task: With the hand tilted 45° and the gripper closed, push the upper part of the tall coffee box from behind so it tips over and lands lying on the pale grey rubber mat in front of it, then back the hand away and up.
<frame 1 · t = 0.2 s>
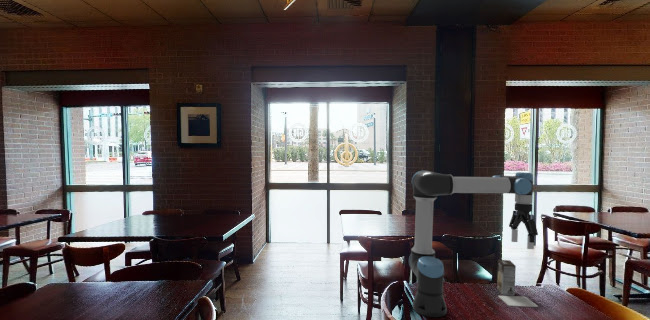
hand: (522, 245, 164), 28 cm above the table, tool pointing down, fingers open, 13 cm apart
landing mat: (517, 301, 164), on the table
coffee box: (505, 292, 175), on the table
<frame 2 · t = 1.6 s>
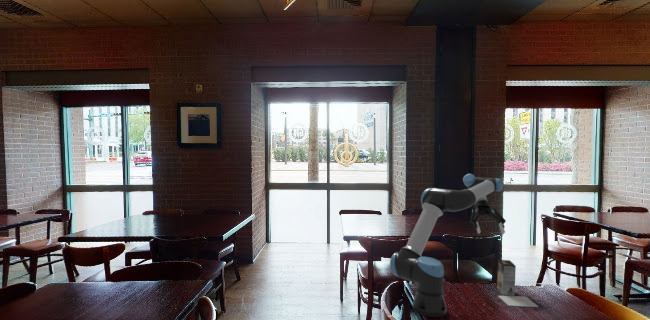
hand: (491, 232, 190), 28 cm above the table, tool tilted 45°, fingers open, 13 cm apart
nothing on the table moved.
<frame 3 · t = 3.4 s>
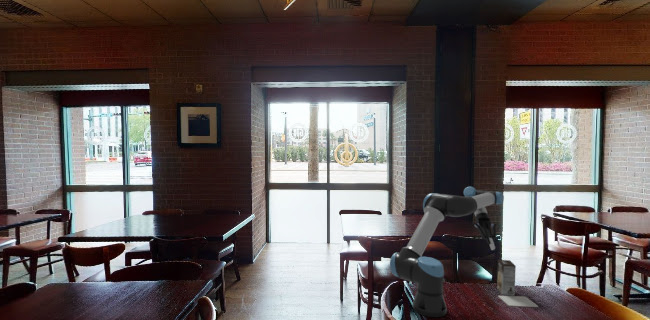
hand: (493, 248, 191), 19 cm above the table, tool tilted 45°, fingers closed
nothing on the table moved.
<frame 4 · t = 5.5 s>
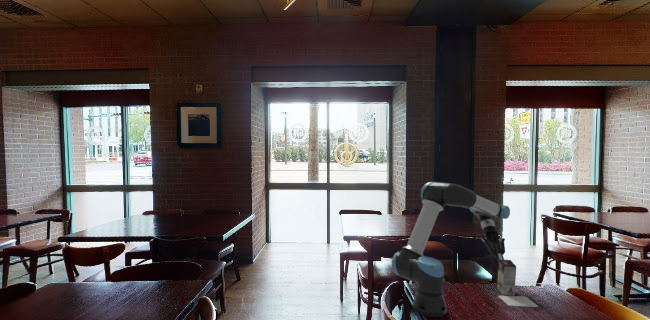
hand: (502, 265, 180), 13 cm above the table, tool tilted 45°, fingers closed
coffee box: (505, 291, 175), on the table, touching gripper
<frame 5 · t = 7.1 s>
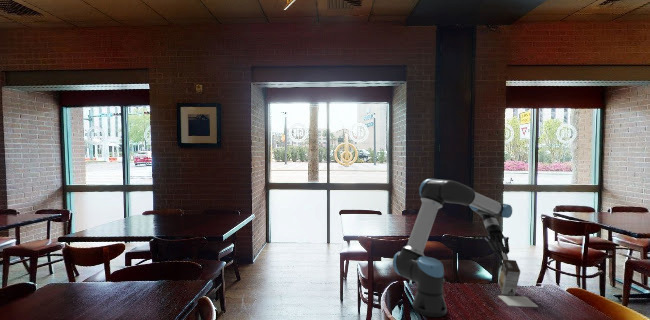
hand: (506, 265, 175), 14 cm above the table, tool tilted 45°, fingers closed
coffee box: (506, 289, 175), point 1 cm above the table, touching gripper
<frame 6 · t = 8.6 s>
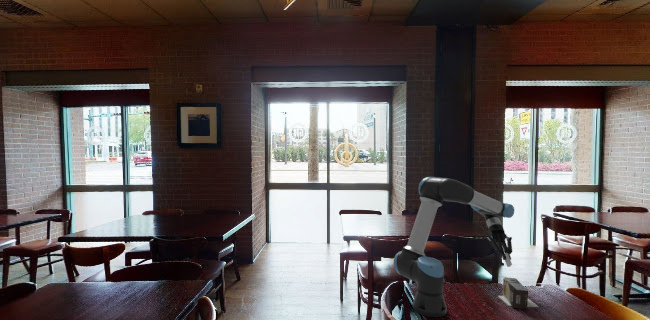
hand: (509, 265, 172), 15 cm above the table, tool tilted 45°, fingers closed
coffee box: (508, 286, 171), point 5 cm above the table, touching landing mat
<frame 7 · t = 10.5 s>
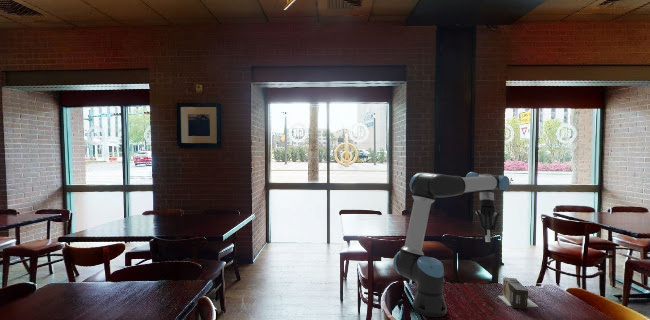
hand: (487, 241, 182), 25 cm above the table, tool tilted 20°, fingers closed
nothing on the table moved.
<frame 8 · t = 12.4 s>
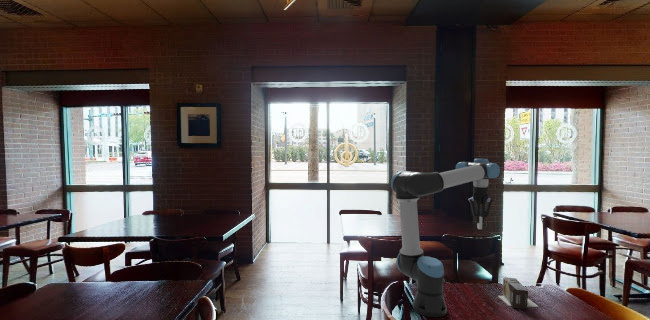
hand: (479, 228, 181), 32 cm above the table, tool pointing down, fingers closed
nothing on the table moved.
at the end: coffee box tilted 89°; coffee box touching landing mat; coffee box inside the target area (1.0 cm from its centre), point 4.8 cm above the table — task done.
